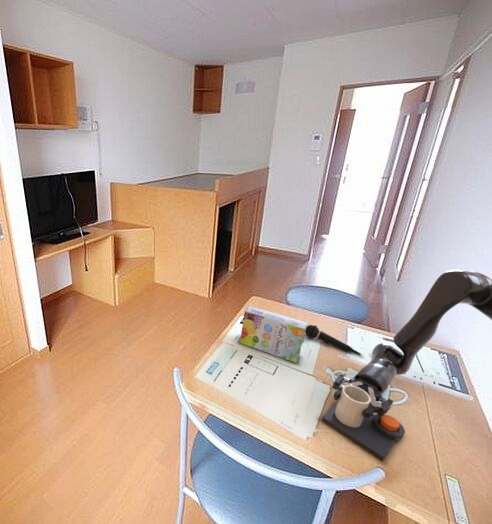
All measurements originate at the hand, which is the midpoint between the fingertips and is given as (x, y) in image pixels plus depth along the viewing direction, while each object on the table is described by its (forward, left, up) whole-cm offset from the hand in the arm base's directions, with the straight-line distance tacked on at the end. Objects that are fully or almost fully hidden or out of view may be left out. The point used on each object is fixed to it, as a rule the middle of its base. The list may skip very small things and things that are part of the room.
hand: (350, 406), depth 84 cm
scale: (-3, -3, -7) cm, 9 cm away
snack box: (+32, -13, -8) cm, 35 cm away
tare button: (-8, -7, -5) cm, 12 cm away
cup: (0, -2, -6) cm, 6 cm away
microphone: (+19, -35, -8) cm, 41 cm away
